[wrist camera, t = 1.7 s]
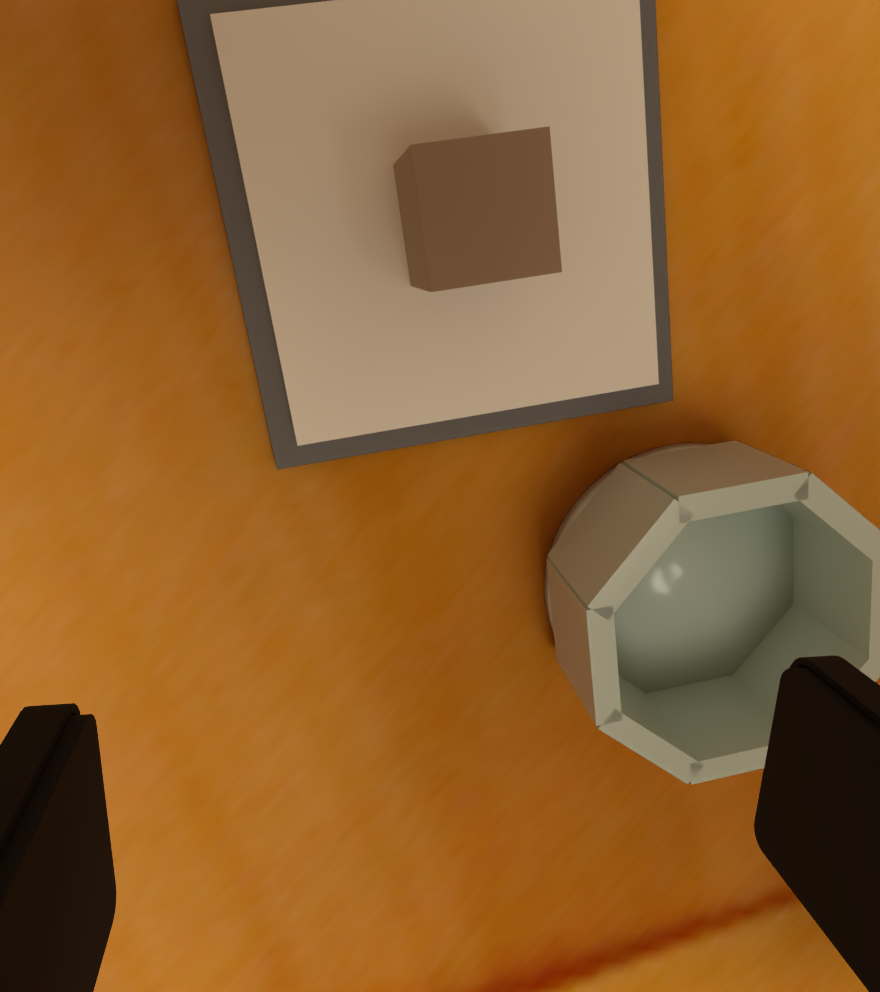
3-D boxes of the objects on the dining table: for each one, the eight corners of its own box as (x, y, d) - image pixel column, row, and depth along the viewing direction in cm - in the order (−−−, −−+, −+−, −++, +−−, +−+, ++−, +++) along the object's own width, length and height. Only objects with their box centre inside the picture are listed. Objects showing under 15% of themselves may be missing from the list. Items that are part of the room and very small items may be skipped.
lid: (626, -24, 27) (710, -100, 21) (648, 380, 31) (723, 407, 25) (213, 23, 25) (184, -45, 19) (298, 439, 29) (293, 483, 24)
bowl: (801, 420, 33) (902, 454, 28) (800, 665, 37) (888, 739, 31) (530, 469, 32) (577, 515, 26) (557, 718, 36) (603, 805, 30)
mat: (645, -54, 27) (652, -61, 26) (666, 398, 32) (673, 400, 31) (178, -3, 25) (174, -9, 25) (277, 465, 30) (277, 469, 30)
